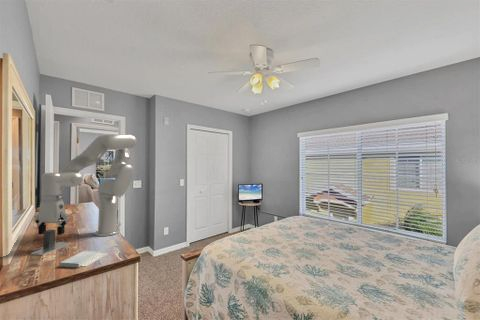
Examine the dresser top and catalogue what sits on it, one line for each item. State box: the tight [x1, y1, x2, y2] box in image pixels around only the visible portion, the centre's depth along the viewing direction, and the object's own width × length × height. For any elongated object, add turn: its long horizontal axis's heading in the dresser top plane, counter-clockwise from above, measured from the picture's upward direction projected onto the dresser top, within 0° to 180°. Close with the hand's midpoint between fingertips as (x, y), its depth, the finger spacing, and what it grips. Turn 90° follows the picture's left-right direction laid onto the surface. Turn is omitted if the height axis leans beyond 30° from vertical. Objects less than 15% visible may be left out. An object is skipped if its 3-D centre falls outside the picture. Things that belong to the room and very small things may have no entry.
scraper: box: [30, 228, 71, 256], centre depth 104 cm, size 6×14×9 cm, turn 176°
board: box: [81, 252, 109, 268], centre depth 94 cm, size 13×11×1 cm
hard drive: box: [58, 250, 101, 268], centre depth 92 cm, size 2×8×12 cm
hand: (51, 234), depth 105 cm, fingers open, 9 cm apart
